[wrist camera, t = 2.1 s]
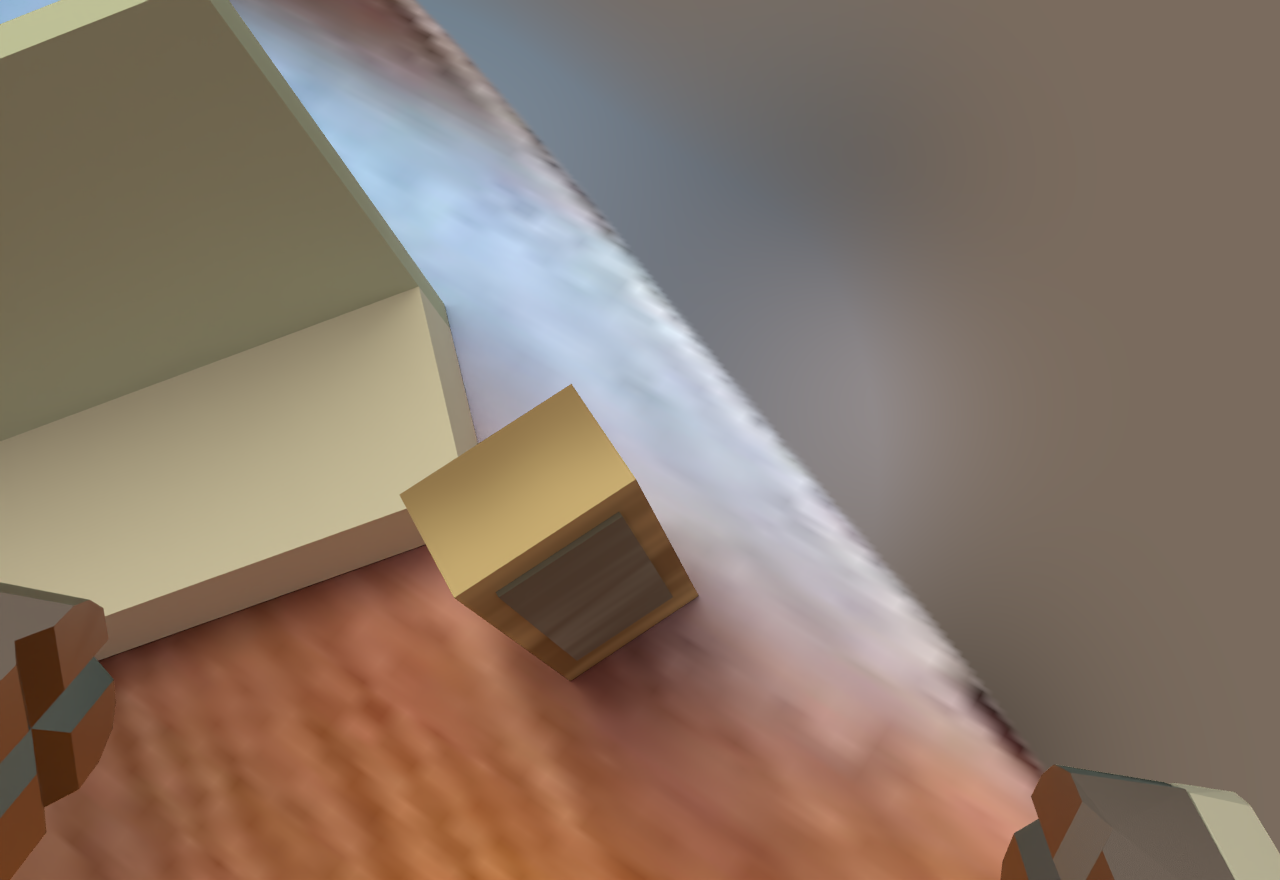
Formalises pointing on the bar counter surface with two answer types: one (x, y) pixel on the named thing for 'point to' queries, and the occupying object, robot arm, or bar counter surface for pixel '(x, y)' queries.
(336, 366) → the cream l-shaped bookend
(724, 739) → the bar counter surface
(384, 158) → the bar counter surface
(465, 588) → the small box
